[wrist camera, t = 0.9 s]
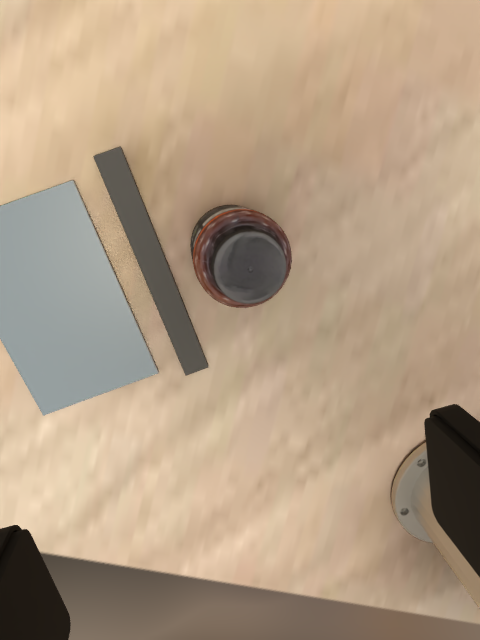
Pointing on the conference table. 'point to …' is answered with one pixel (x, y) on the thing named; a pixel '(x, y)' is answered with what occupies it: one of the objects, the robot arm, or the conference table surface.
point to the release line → (150, 258)
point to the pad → (64, 303)
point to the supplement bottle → (240, 256)
